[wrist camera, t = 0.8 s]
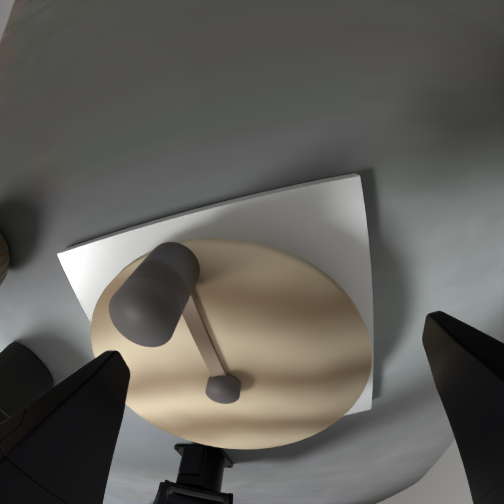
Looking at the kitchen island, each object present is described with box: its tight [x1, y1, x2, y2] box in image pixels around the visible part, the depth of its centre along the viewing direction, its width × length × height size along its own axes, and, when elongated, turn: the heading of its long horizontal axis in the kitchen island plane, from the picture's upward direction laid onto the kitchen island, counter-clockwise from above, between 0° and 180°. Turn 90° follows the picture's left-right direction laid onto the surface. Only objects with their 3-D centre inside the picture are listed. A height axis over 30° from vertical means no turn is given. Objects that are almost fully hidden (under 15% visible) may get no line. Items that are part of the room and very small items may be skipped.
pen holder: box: [0, 343, 53, 424], centre depth 24 cm, size 9×9×10 cm
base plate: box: [57, 173, 374, 416], centre depth 23 cm, size 23×23×1 cm
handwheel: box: [91, 238, 372, 449], centre depth 18 cm, size 22×21×8 cm
